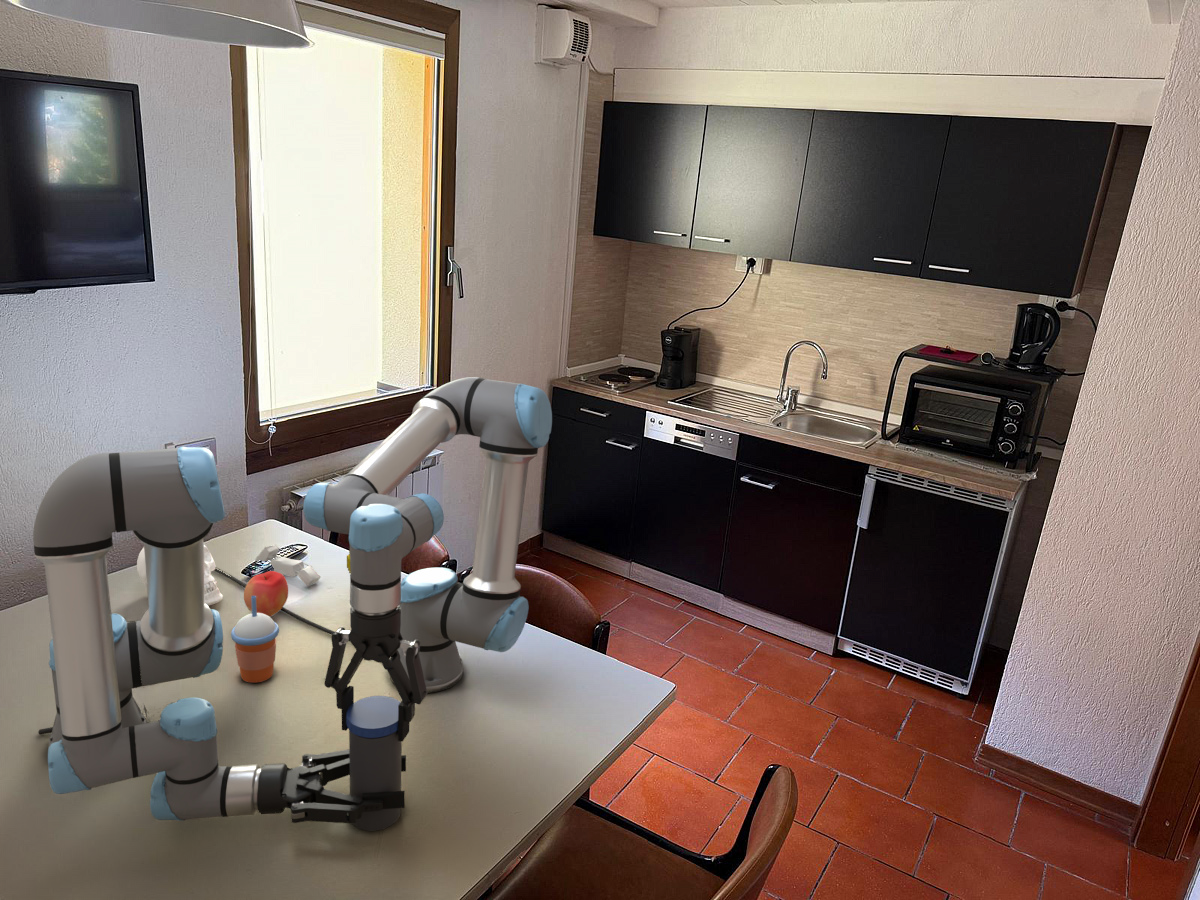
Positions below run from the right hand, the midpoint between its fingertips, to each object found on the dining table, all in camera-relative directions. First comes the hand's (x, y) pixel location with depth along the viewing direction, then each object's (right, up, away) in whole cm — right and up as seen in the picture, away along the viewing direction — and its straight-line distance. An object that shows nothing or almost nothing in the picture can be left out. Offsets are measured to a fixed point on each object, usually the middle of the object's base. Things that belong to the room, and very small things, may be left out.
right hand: (375, 730), depth 137 cm
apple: (-42, +6, +64) cm, 77 cm away
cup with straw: (-35, -2, +40) cm, 53 cm away
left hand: (+4, -10, +4) cm, 11 cm away
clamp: (-45, +13, +83) cm, 95 cm away
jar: (-1, -15, +5) cm, 16 cm away
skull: (-64, +10, +68) cm, 94 cm away
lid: (0, +3, -1) cm, 3 cm away
